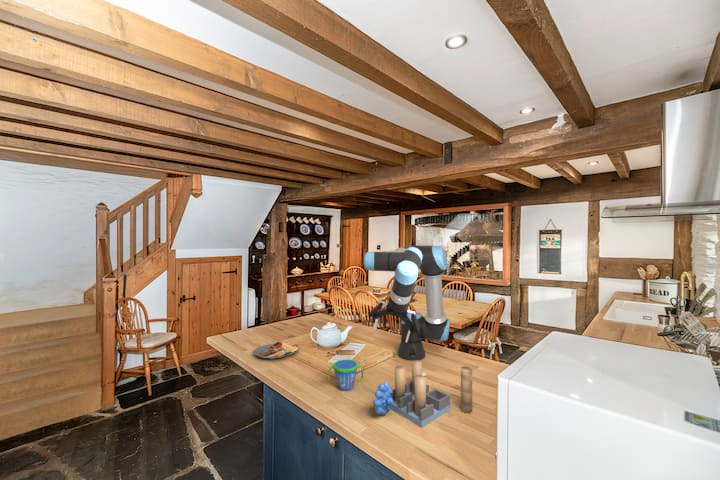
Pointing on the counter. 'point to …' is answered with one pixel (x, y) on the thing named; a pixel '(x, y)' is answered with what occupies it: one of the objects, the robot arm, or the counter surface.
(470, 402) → the loose leg
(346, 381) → the snack cup
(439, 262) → the robot arm
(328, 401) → the counter surface
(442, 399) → the stool
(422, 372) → the tiered building model
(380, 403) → the grapes
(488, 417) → the counter surface
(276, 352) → the food plate
